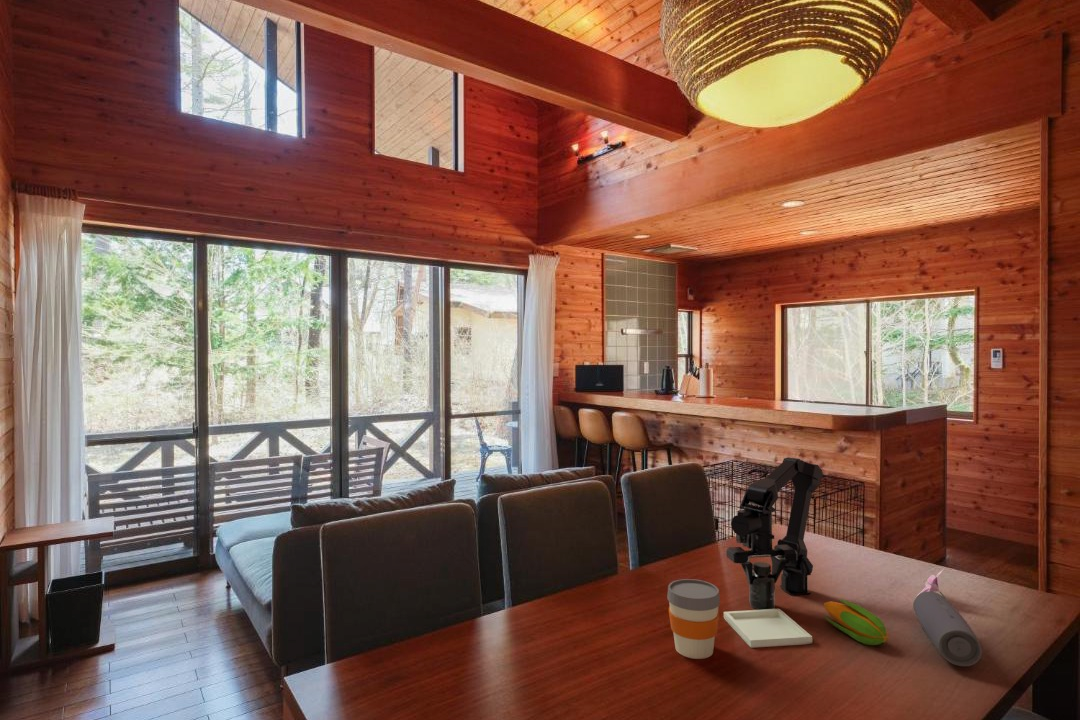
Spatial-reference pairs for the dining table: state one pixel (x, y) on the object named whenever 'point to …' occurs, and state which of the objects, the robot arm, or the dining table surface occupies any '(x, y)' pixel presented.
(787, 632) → the tray
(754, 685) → the dining table surface
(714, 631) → the reusable coffee cup
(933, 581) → the lily
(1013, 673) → the dining table surface
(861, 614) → the corn
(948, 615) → the bluetooth speaker
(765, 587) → the supplement bottle
